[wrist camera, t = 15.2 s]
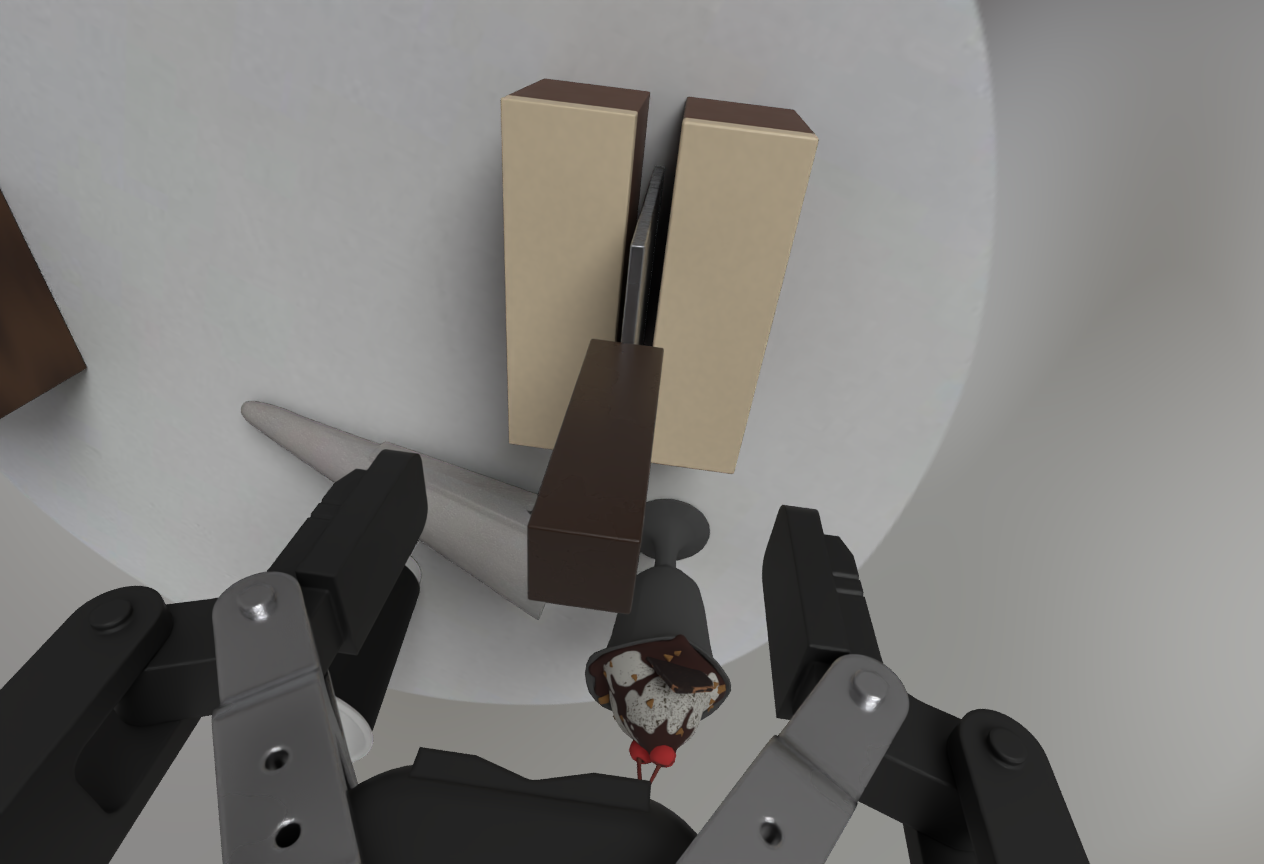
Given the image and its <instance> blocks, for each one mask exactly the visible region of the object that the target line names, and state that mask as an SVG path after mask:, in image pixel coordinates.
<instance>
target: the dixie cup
mask: <svg viewBox="0 0 1264 864" xmlns="http://www.w3.org/2000/svg"><path fill="white" fill-rule="evenodd" d="M420 580H421V570H420V568H419V566H418V564H417V563H416V561H415V560H414V559H413V558H412V557H411V556H409V558H408V560H407V562H406V564H405V566H404V568H403V570H402V572H401V573H400V575H399V577H398V579H397V581H396V583H395V585H394V587H393V589H392V590H391V592H390V594H389V596H388V598H387V600H386V602H385V604H384V606H383V607H382V609H381V611H380V613H379V615H378V617H377V619H376V621H375V623H374V625H373V626H372V628H371V630H370V632H369V634H368V636H367V638H366V640H365V642H364V643H363V645H362V647H361V649H360V651H359V653H358V655H351V654H344V653H337V654H336V656H335V658H334V659H333V661H332V663H331V665H330V667H329V668H328V670H329V673H330V677H331V681H332V685H333V689H334V693H335V697H336V701H337V706H338V710H339V714H340V718H341V722H342V726H343V730H344V734H345V738H346V742H347V747H348V750H349V754H350V758H351V762H352V763H353V762H355V761H358V760H360V759H362V758H363V757H365V756H366V755H367V754H368V753H369V751H370V750H371V748H372V745H373V733H372V731H373V728H374V725H375V722H376V719H377V716H378V713H379V710H380V707H381V704H382V702H383V699H384V696H385V693H386V690H387V687H388V684H389V681H390V678H391V675H392V672H393V669H394V666H395V663H396V661H397V658H398V655H399V652H400V649H401V646H402V643H403V640H404V637H405V634H406V631H407V628H408V625H409V622H410V619H411V616H412V613H413V611H414V608H415V605H416V602H417V599H418V596H419V592H420V586H419V583H420Z"/></svg>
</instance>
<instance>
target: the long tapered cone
mask: <svg viewBox="0 0 1264 864" xmlns="http://www.w3.org/2000/svg"><path fill="white" fill-rule="evenodd" d="M241 413H242V415H243V417H244V418H245V419H246V420H247V421H248V422H249V423H250V424H251V425H253V426H254V427H256V428H257V429H258V430H260V431H261V432H262V433H264V434H265V435H267V436H268V437H269V438H271V439H272V440H274V441H275V442H276V443H278V444H279V445H281V446H282V447H283V448H285V449H286V450H288V451H289V452H291V453H292V454H294V455H295V456H296V457H298V458H299V459H301V460H302V461H304V462H305V463H307V464H308V465H310V466H311V467H313V468H314V469H316V470H317V471H318V472H320V473H321V474H323V475H324V476H326V477H327V478H329V479H330V480H332V481H333V482H336V481H338V480H339V479H341V478H342V477H344V476H345V475H347V474H348V473H350V472H351V471H353V470H354V469H356V468H357V469H364V470H367V469H368V468H369V467H370V465H371V464H372V462H373V461H374V460H375V458H376V457H377V455H378V454H379V453H380V452H381V451H382V450H384V449H389V450H396V451H403V452H411V453H418V452H415V451H412V450H409V449H406V448H404V447H401V446H398V445H395V444H392V443H389V442H384V443H382V444H378V443H375V442H372V441H369V440H366V439H363V438H361V437H358V436H355V435H352V434H349V433H347V432H344V431H341V430H338V429H336V428H333V427H330V426H327V425H325V424H322V423H319V422H316V421H314V420H311V419H308V418H305V417H303V416H300V415H298V414H296V413H293V412H291V411H289V410H286V409H284V408H281V407H277V406H274V405H271V404H266V403H261V402H256V401H247V402H245V403H244V404H243V405H242V407H241ZM418 454H419V455H420V456H421V459H422V464H423V472H424V479H425V486H426V494H427V501H428V514H427V520H426V524H425V527H424V529H423V532H422V534H421V536H420V538H419V540H421V541H422V542H424V543H425V544H426V545H428V546H429V547H431V548H432V549H434V550H435V551H437V552H438V553H440V554H441V555H443V556H444V557H445V558H447V559H448V560H450V561H451V562H453V563H454V564H456V565H457V566H459V567H460V568H462V569H463V570H465V571H466V572H468V573H469V574H471V575H472V576H474V577H475V578H477V579H478V580H480V581H481V582H483V583H484V584H486V585H487V586H488V587H490V588H491V589H492V590H494V591H495V592H497V593H498V594H500V595H501V596H503V597H504V598H506V599H507V600H509V601H510V602H512V603H513V604H515V605H516V606H517V607H519V608H521V609H522V610H524V611H525V612H526V613H528V614H529V615H531V616H532V617H534V618H535V619H537V620H539V618H540V616H541V613H542V611H543V608H544V606H545V603H546V602H539V601H532V600H529V599H528V597H527V525H528V522H529V519H530V516H531V513H532V510H533V507H534V504H535V501H536V498H537V495H538V494H535V493H532V492H529V491H526V490H524V489H521V488H518V487H515V486H512V485H509V484H506V483H504V482H501V481H498V480H495V479H492V478H489V477H486V476H484V475H481V474H478V473H475V472H472V471H469V470H466V469H464V468H461V467H458V466H455V465H452V464H449V463H446V462H444V461H441V460H438V459H435V458H432V457H429V456H426V455H424V454H421V453H418Z"/></svg>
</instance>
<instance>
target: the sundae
mask: <svg viewBox="0 0 1264 864" xmlns="http://www.w3.org/2000/svg"><path fill="white" fill-rule="evenodd" d="M709 535H710V529H709V524H708V522H707V520H706V518H705V517H704V515H703V514H702V513H701V512H700V511H699V510H697V509H696V508H695V507H693V506H691V505H690V504H687V503H684V502H682V501H678V500H673V499H660V500H654V501H650V502H647V503H646V508H645V517H644V525H643V534H642V542H641V549H640V552H641V553H643V554H645V555H646V556H648V557H651V558H654V559H655V567H652V568H649V569H647V570H645V571H643V572H641V573H639V574H638V575H636V582H635V588H634V595H633V601H632V608H631V612H630V613H629V614H622V613H618V614H617V617H616V621H615V624H614V628H613V632H612V635H611V638H610V640H609V643H608V645H607V648H605V649H603V650H600V651H598V652H595V653H594V654H593V655H591V656H590V657H589V660H588V662H587V664H586V670H585V677H586V683H587V687H588V690H589V693H590V694H591V695H592V697H593V698H594V699H595V701H597V702H598V703H599V704H600V705H601V706H602V707H604V708H607V709H609V710H611V711H613V714H614V716H613V717H614V719H615V720H616V722H617V723H618V725H619V726H620V728H621V729H622V731H623V732H624V733H625V734H627V735H628V736H629V737H630V738H632V739H633V741H632V743H631V745H630V749H629V752H630V755H631V757H632V759H633V760H635V761H636V762H637V773H638V774H637V775H638V779H640V780H642V774H641V764H648V763H651V762H653V763H654V764H656V765H657V766H656V768H655V770H654V773H653V774H652V777H651V779H650V781H651V784H652V782H653V780H654V778H655V777H656V775H657V773H658V771H659V769H660V768H661V767H666V768H667V767H670V766H672V765H673V763H674V762H675V758H676V750H677V749H678V748H679V747H680V746H681V745H683V744H684V743H686V742H687V741H688V740H689V739H690V738H691V737H692V736H693V735H694V733H695V731H696V729H697V727H698V725H699V723H700V721H701V720H702V719H704V718H706V717H707V716H709V715H711V714H712V713H713V712H714V711H715V710H717V709H718V708H719V706H720V705H721V704H722V703H723V702H724V701H725V699H726V698H727V697H728V695H729V693H730V691H731V684H730V680H729V678H728V676H727V675H726V673H725V672H724V670H723V669H722V667H721V666H720V665H719V663H718V662H717V661H716V660H715V659H714V658H713V655H712V651H711V646H710V640H709V634H708V627H707V621H706V614H705V609H704V605H703V601H702V597H701V594H700V590H699V588H698V586H697V584H696V583H695V582H694V580H692V579H691V578H690V577H689V576H687V575H686V574H685V573H683V572H682V571H681V570H679V569H677V568H676V560H680V559H684V558H687V557H690V556H693V555H694V554H696V553H698V552H699V551H700V550H702V549H703V548H704V546H705V545H706V543H707V541H708V539H709Z"/></svg>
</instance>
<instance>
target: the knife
mask: <svg viewBox="0 0 1264 864" xmlns="http://www.w3.org/2000/svg"><path fill="white" fill-rule="evenodd" d="M664 171H665V167H664V166H657V165H656V166H655V168H654V171H653V175H652V178H651V181H650V184H649V188H648V191H647V194H646V197H645V200H644V204H643V207H642V210H641V213H640V217H639V220H638V223H637V226H636V229H635V233H634V236H633V239H632V242H631V246H630V255H629V266H628V276H627V286H626V296H625V307H624V317H623V327H622V337H621V342H614V341H607V340H600V339H591V340H590V343H589V346H588V349H587V352H586V355H585V358H584V361H583V364H582V367H581V370H580V373H579V376H578V378H577V381H576V384H575V387H574V390H573V393H572V396H571V399H570V402H569V405H568V408H567V411H566V414H565V416H564V419H563V422H562V425H561V428H560V431H559V434H558V437H557V440H556V443H555V446H554V449H553V452H552V454H551V457H550V460H549V463H548V466H547V469H546V472H545V475H544V478H543V481H542V484H541V487H540V490H539V493H538V495H537V498H536V501H535V504H534V507H533V510H532V513H531V516H530V519H529V522H528V525H527V597H528V599H529V600H532V601H539V602H546V603H553V604H559V605H566V606H573V607H580V608H587V609H594V610H601V611H608V612H615V613H622V614H629V613H630V612H631V608H632V601H633V595H634V588H635V582H636V575H637V568H638V562H639V555H640V549H641V542H642V534H643V525H644V517H645V508H646V500H647V491H648V483H649V474H650V466H651V457H652V449H653V440H654V432H655V423H656V415H657V406H658V398H659V390H660V381H661V373H662V364H663V356H664V349H663V348H659V347H652V346H644V345H643V343H644V335H645V327H646V319H647V311H648V302H649V294H650V286H651V278H652V269H653V261H654V253H655V245H656V236H657V228H658V220H659V212H660V204H661V195H662V187H663V179H664Z"/></svg>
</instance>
